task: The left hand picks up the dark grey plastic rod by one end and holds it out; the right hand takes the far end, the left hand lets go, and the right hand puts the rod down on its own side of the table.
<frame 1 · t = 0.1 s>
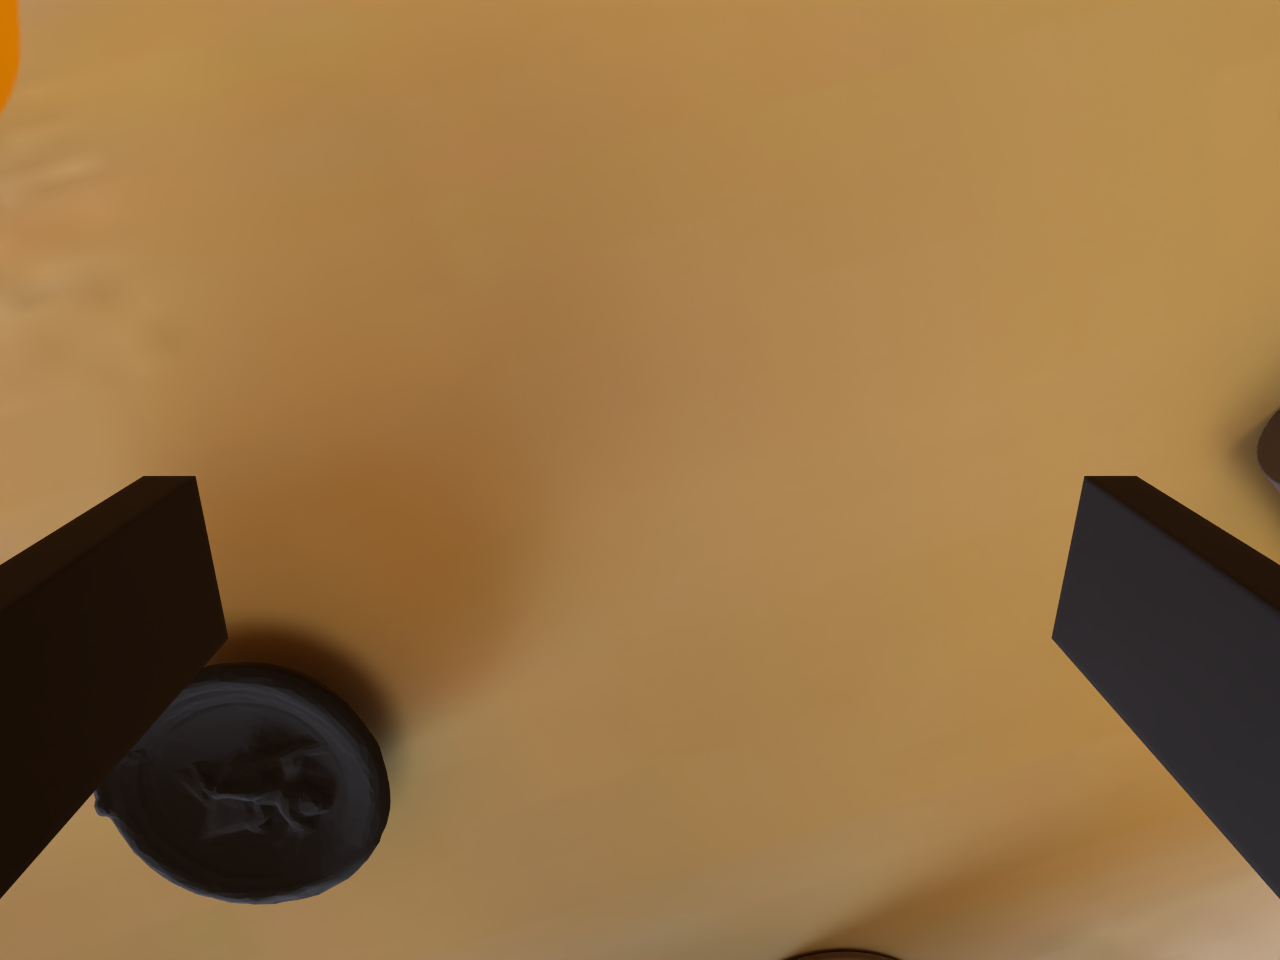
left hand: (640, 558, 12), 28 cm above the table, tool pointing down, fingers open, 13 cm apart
oil lamp: (240, 722, 47), on the table
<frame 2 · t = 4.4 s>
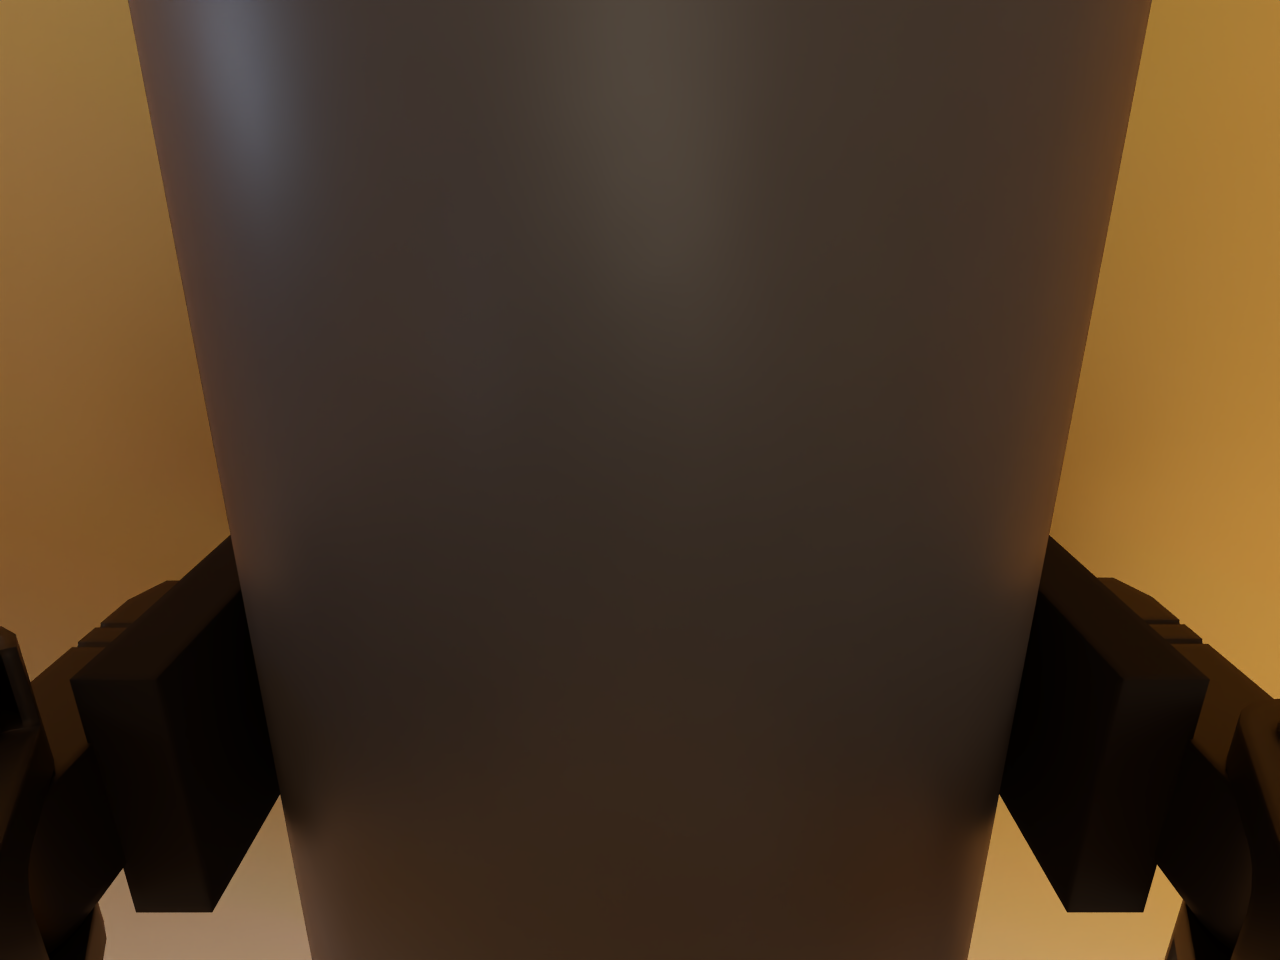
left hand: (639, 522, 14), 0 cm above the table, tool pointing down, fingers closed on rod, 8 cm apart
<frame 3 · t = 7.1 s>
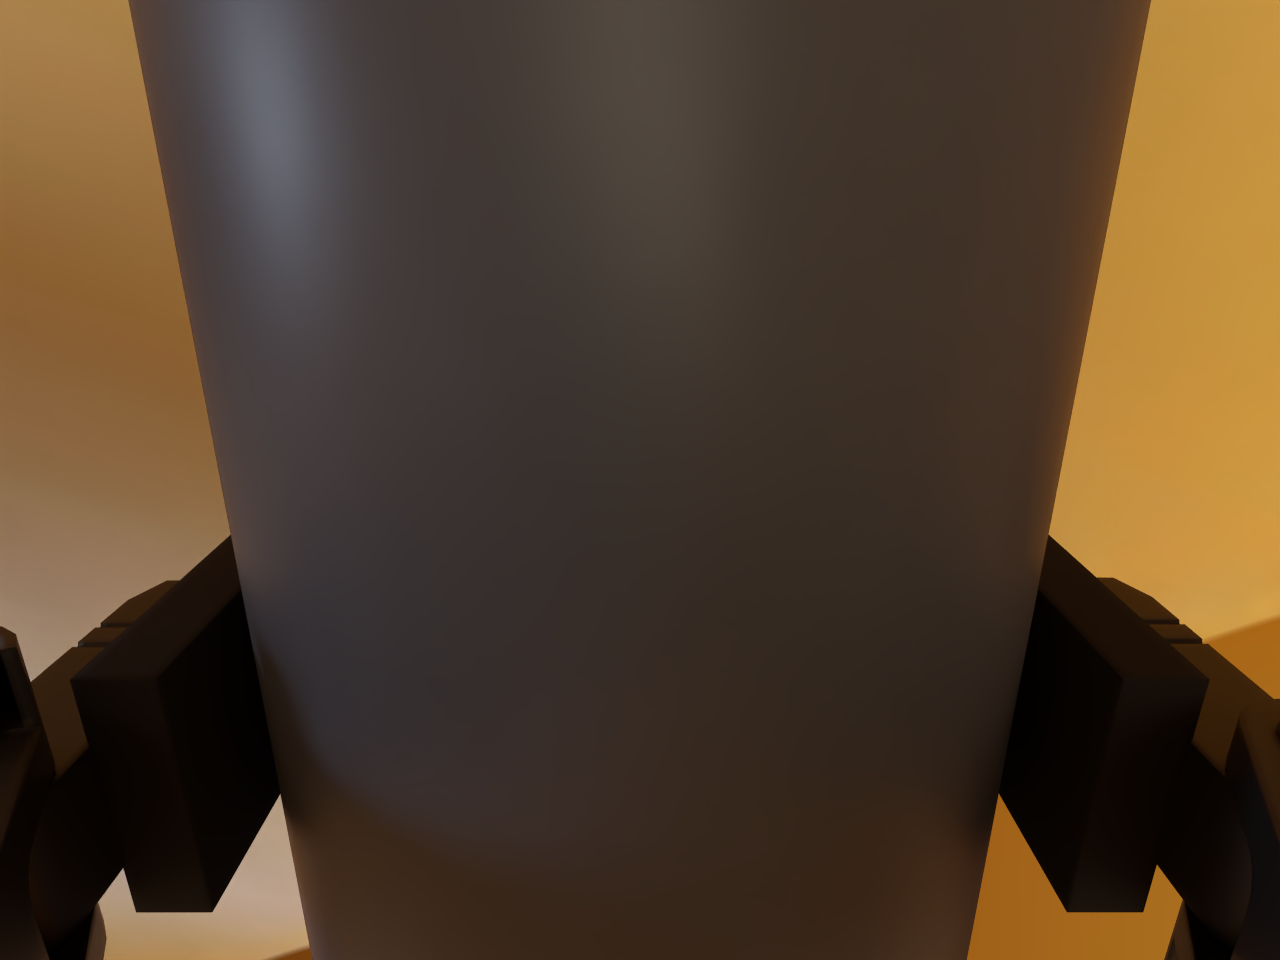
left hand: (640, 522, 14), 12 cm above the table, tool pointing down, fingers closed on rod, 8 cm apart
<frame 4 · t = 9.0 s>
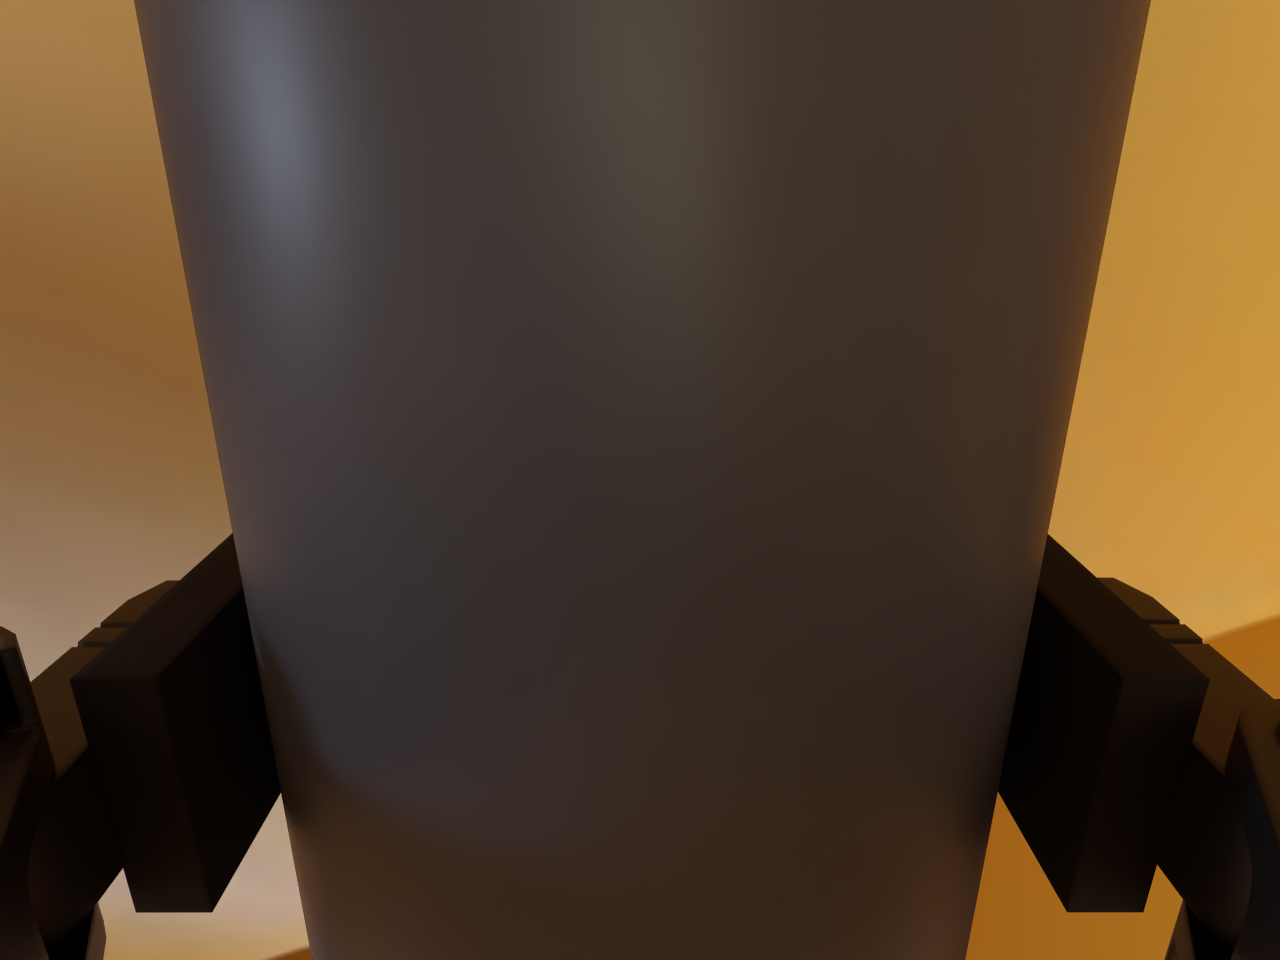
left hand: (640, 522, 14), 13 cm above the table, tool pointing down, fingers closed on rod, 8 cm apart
when the left hand's fingers open (13 cm above the table, at t = 10.0 s): rod stays where it is, held by the right hand.
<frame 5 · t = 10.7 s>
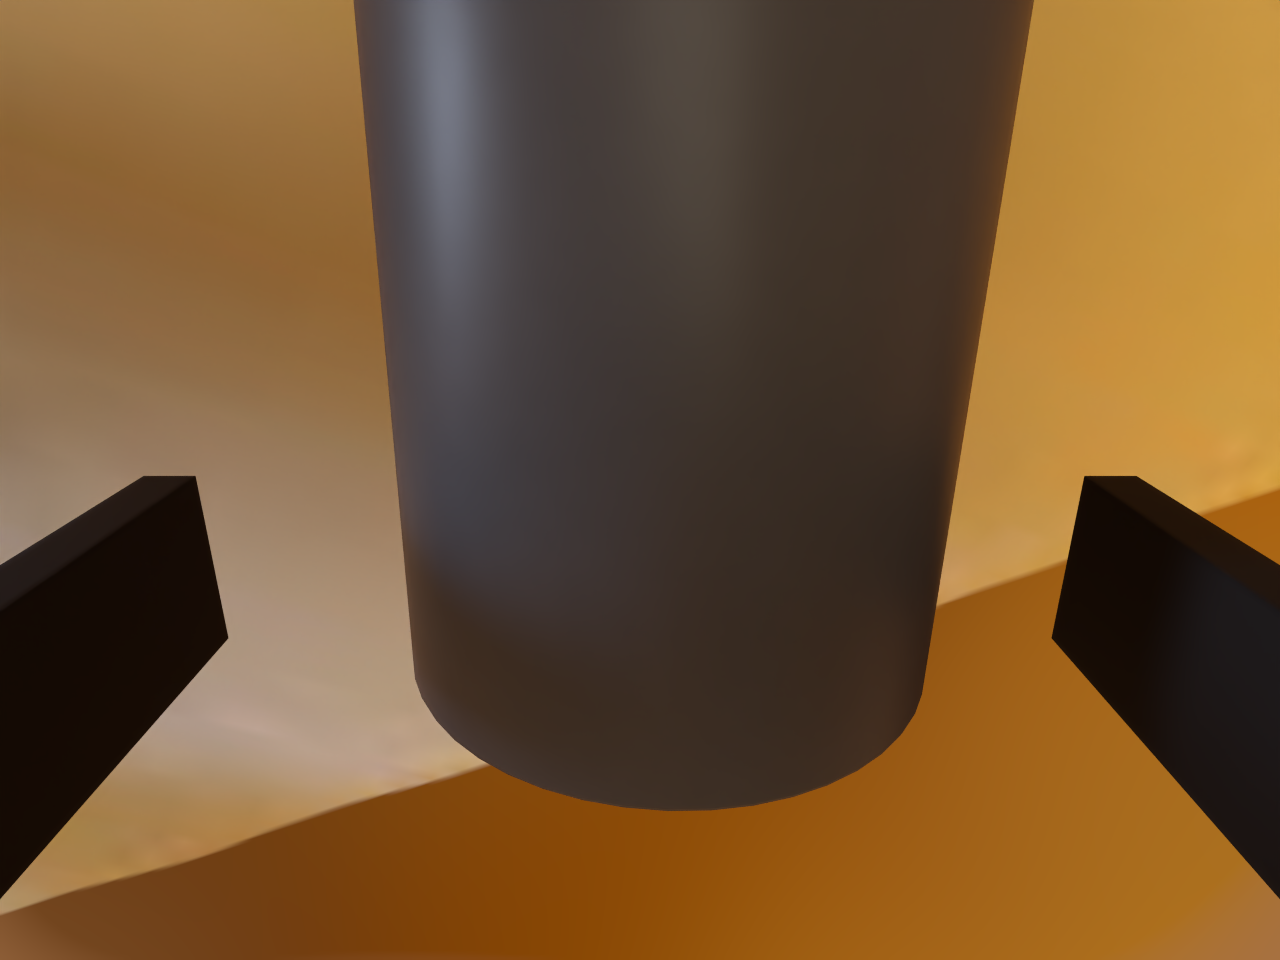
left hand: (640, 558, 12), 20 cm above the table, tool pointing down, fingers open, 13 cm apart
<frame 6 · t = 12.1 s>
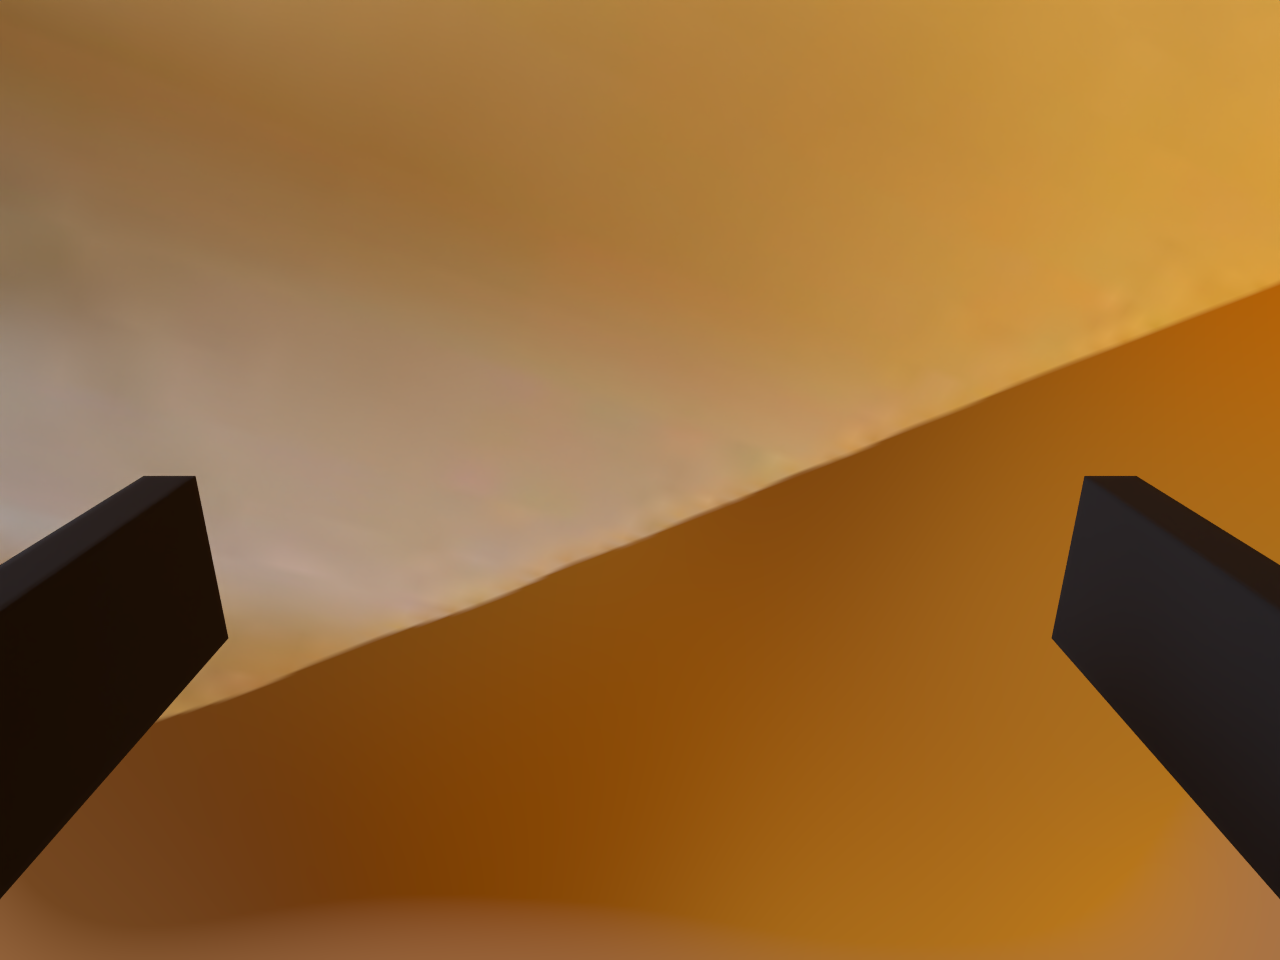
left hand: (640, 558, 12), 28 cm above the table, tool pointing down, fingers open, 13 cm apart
when the right hand's fingers open (2 cm above the table, at t = 15.5 s): rod drops 1 cm, on the table.
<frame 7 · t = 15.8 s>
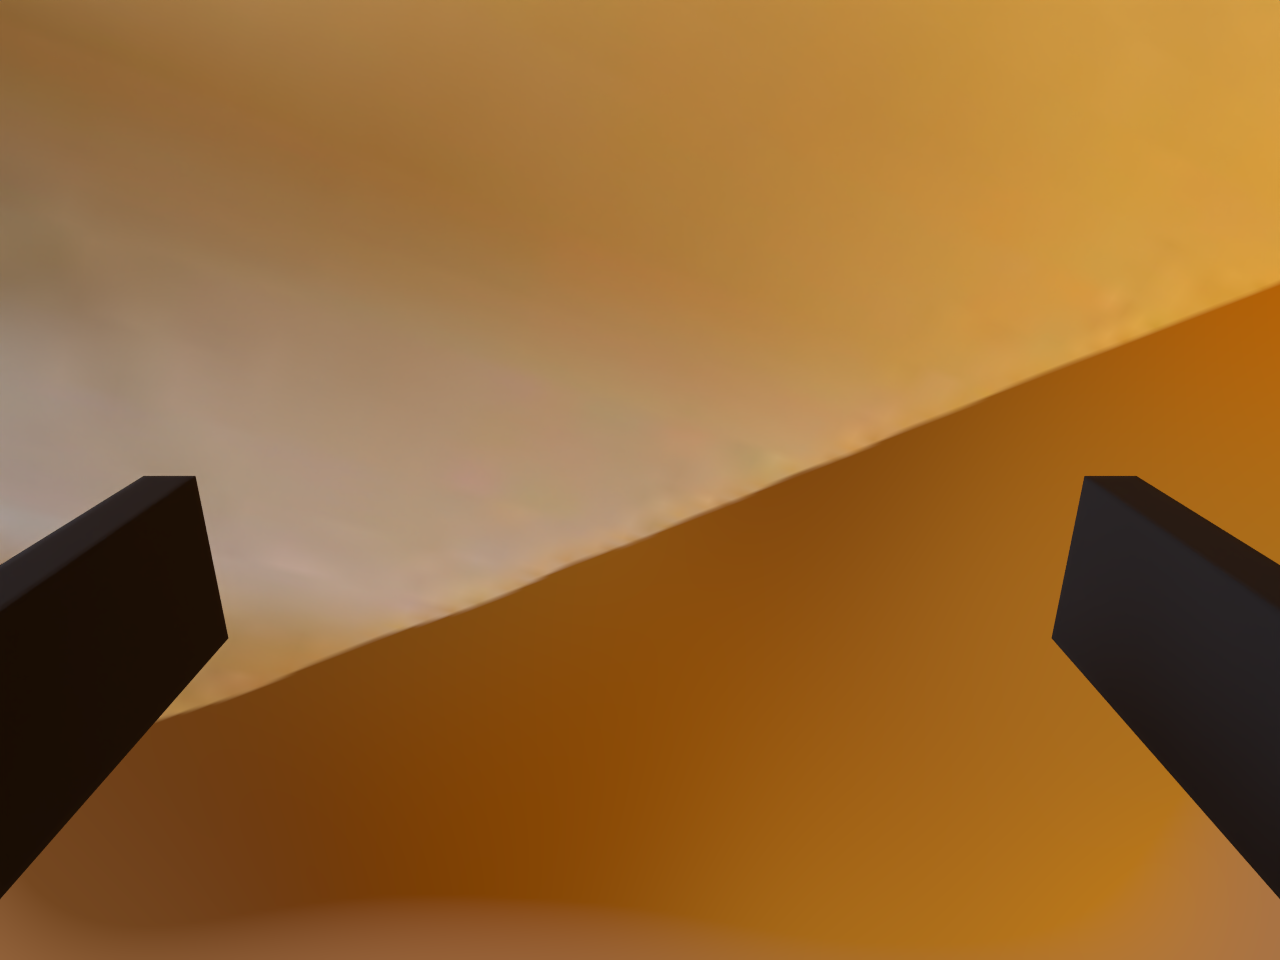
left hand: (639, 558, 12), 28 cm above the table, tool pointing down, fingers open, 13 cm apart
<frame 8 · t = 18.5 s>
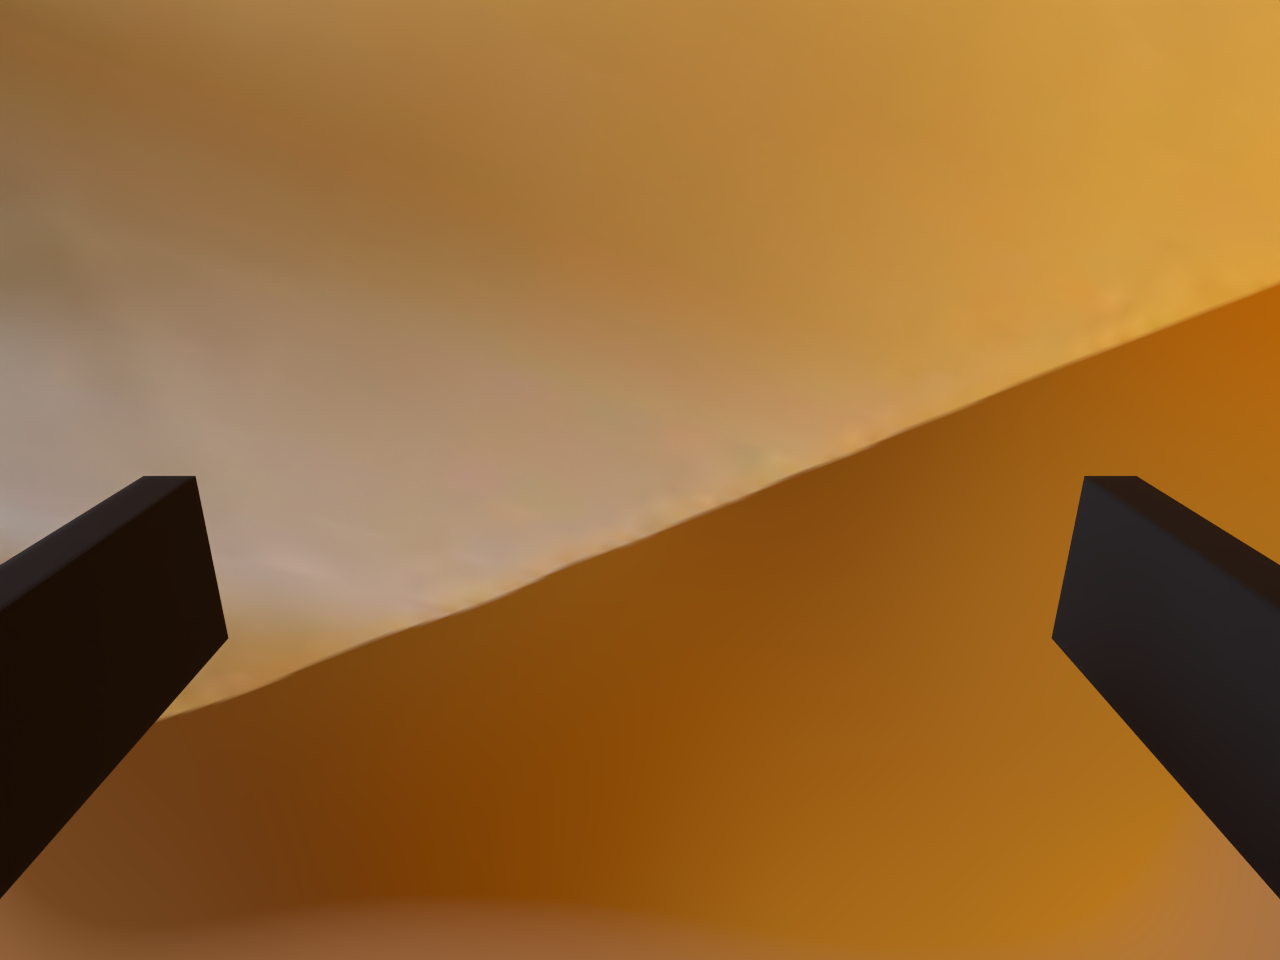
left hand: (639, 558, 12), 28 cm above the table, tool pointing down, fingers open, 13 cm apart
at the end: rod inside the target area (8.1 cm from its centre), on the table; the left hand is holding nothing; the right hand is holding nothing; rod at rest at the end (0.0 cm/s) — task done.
